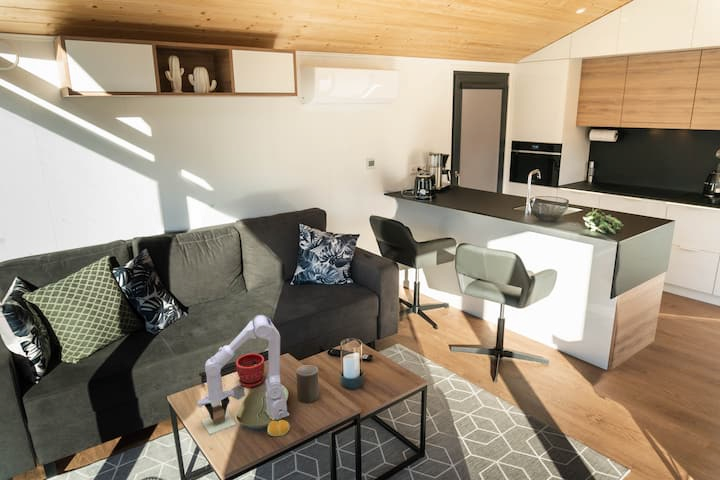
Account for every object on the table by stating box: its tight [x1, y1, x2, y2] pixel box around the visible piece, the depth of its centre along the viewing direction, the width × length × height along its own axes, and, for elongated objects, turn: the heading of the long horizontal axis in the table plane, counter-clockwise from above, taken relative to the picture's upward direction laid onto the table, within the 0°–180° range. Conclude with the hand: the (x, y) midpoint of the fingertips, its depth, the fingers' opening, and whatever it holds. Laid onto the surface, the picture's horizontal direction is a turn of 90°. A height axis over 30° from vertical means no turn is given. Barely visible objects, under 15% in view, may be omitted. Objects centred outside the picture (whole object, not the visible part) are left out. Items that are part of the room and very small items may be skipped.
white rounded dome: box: [206, 393, 221, 407], centre depth 218 cm, size 5×5×5 cm
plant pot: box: [235, 353, 266, 388], centre depth 234 cm, size 13×13×12 cm
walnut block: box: [212, 404, 225, 424], centre depth 204 cm, size 4×4×5 cm
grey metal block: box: [231, 385, 246, 400], centre depth 223 cm, size 4×4×4 cm
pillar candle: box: [295, 364, 320, 404], centre depth 220 cm, size 10×10×15 cm
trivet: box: [201, 410, 237, 436], centre depth 205 cm, size 11×11×1 cm
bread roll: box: [267, 419, 291, 437], centre depth 199 cm, size 8×9×4 cm
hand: (218, 416), depth 204 cm, fingers closed on walnut block, 4 cm apart
